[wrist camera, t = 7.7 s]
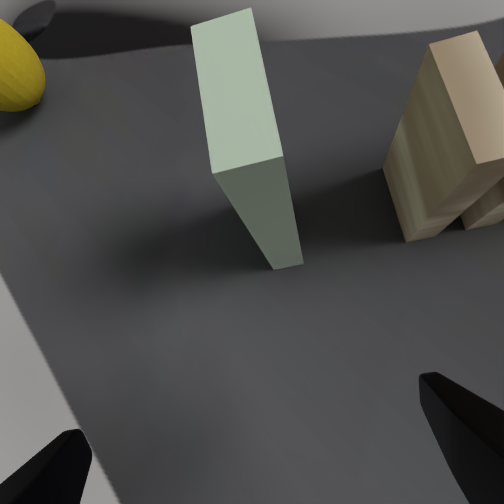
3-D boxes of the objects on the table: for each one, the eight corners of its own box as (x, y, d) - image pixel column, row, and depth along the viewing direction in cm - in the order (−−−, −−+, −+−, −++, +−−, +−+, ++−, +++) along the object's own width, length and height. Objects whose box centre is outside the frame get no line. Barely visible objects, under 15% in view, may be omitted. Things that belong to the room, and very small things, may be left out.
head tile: (288, 190, 21) (250, 7, 10) (303, 263, 20) (283, 156, 8) (260, 197, 21) (190, 26, 10) (273, 269, 20) (212, 173, 8)
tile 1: (410, 161, 20) (477, 31, 12) (435, 236, 19) (531, 151, 10) (382, 167, 20) (428, 44, 12) (405, 242, 19) (476, 163, 11)
